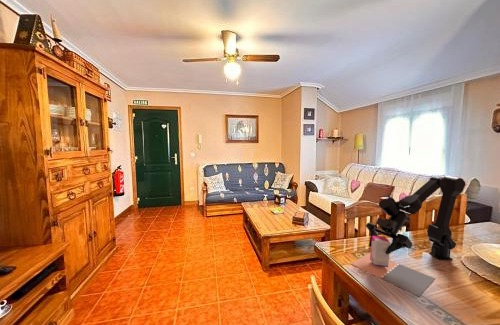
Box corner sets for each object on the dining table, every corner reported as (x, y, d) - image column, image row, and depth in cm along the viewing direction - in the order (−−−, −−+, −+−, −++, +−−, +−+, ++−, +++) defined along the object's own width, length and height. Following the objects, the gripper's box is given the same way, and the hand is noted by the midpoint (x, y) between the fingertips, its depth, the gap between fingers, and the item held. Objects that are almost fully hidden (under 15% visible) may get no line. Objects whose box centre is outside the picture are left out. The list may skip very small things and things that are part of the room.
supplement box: (389, 267, 95) (390, 242, 94) (374, 265, 96) (375, 240, 95) (383, 260, 101) (385, 236, 100) (369, 258, 102) (370, 235, 101)
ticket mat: (435, 278, 89) (435, 278, 89) (419, 296, 79) (419, 295, 79) (370, 252, 110) (370, 251, 110) (350, 263, 100) (350, 263, 100)
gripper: (369, 206, 106) (351, 231, 103) (409, 218, 89) (390, 249, 86) (379, 219, 110) (362, 244, 107) (420, 233, 93) (402, 263, 90)
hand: (377, 249), depth 97 cm, fingers closed on supplement box, 7 cm apart
